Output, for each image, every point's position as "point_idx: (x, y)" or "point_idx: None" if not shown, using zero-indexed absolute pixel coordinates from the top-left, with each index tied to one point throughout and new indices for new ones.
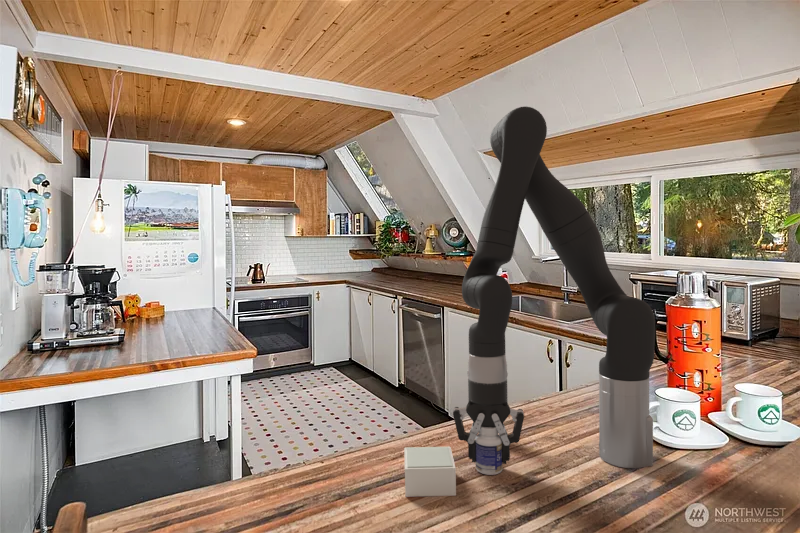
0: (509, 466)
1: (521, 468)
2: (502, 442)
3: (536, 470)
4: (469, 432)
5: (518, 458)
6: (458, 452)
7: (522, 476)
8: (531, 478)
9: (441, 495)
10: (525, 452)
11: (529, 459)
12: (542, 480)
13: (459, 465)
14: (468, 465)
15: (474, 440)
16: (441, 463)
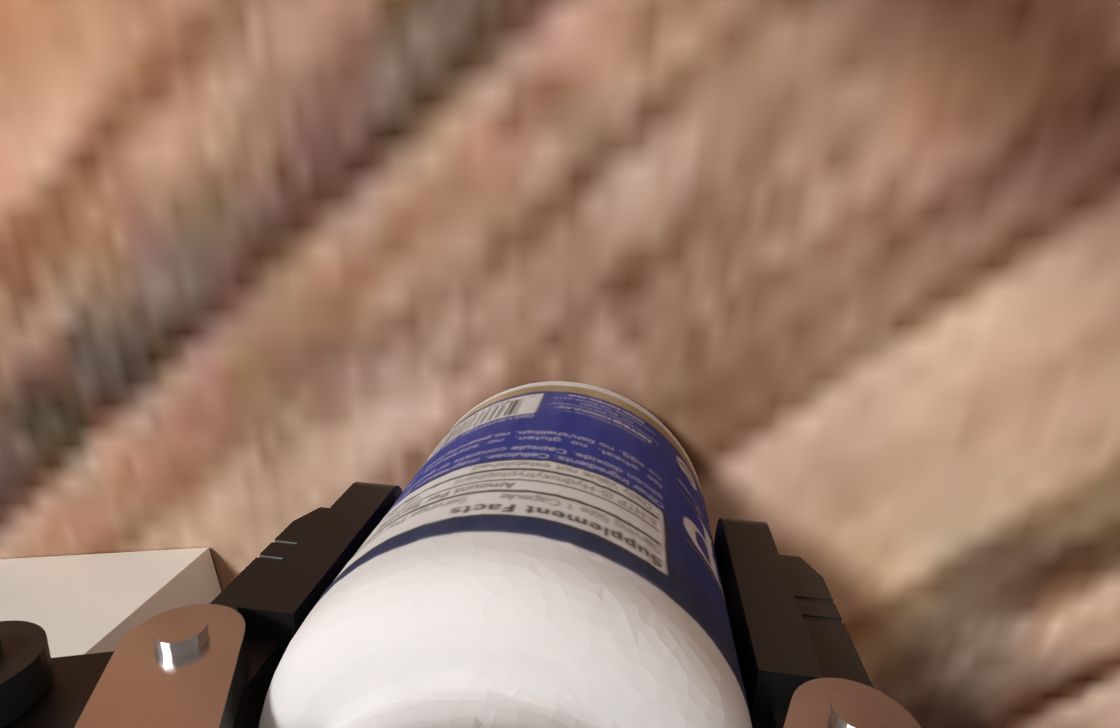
0: (792, 432)
1: (919, 474)
2: (758, 715)
3: (1081, 514)
4: (95, 713)
5: (953, 220)
6: (216, 98)
7: (883, 631)
8: (965, 667)
9: None
10: (1115, 13)
11: (1095, 241)
12: (1067, 702)
13: (270, 426)
14: (357, 423)
15: (275, 658)
16: None
